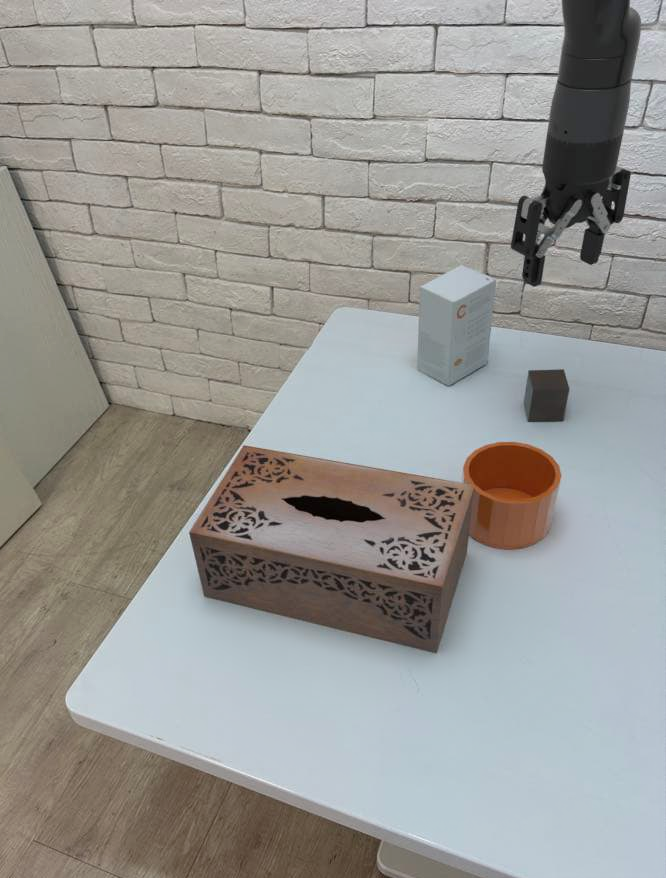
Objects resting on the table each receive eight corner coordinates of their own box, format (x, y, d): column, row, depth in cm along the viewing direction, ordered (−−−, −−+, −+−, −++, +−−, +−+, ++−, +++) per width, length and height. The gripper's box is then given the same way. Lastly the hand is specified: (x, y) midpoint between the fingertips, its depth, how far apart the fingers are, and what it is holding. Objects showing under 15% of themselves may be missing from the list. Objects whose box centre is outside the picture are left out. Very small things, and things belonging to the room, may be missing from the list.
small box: (455, 347, 117) (461, 263, 108) (488, 364, 114) (498, 278, 104) (415, 369, 114) (418, 285, 105) (448, 387, 111) (454, 301, 101)
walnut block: (557, 401, 106) (564, 369, 102) (563, 421, 103) (569, 389, 99) (523, 401, 107) (528, 370, 103) (527, 422, 104) (533, 389, 100)
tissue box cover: (204, 596, 88) (189, 532, 81) (253, 509, 97) (243, 445, 90) (436, 653, 80) (442, 587, 73) (466, 552, 89) (474, 485, 82)
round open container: (544, 487, 95) (553, 440, 90) (557, 549, 88) (568, 502, 83) (456, 488, 96) (460, 442, 91) (462, 549, 89) (467, 503, 84)
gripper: (557, 154, 79) (534, 304, 90) (665, 118, 83) (630, 266, 94) (507, 135, 84) (491, 279, 95) (611, 101, 87) (584, 243, 99)
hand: (560, 272), depth 95 cm, fingers open, 8 cm apart
